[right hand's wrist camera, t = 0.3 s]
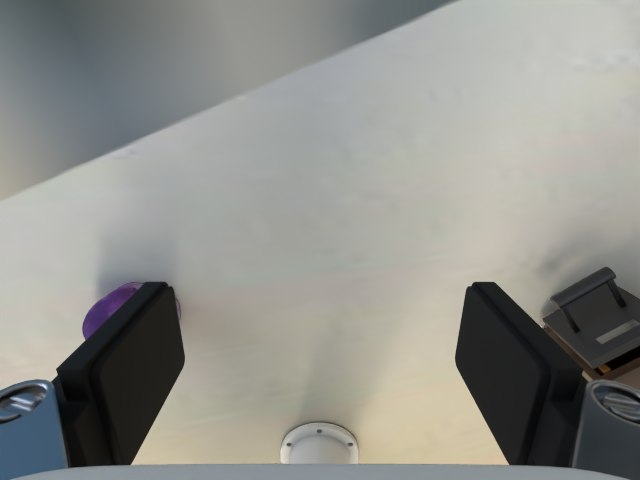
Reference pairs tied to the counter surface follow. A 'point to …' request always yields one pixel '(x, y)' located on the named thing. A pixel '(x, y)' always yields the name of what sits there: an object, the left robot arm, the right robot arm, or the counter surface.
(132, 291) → the figurine
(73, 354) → the right robot arm
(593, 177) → the counter surface
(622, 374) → the cabinet
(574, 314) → the drawer
